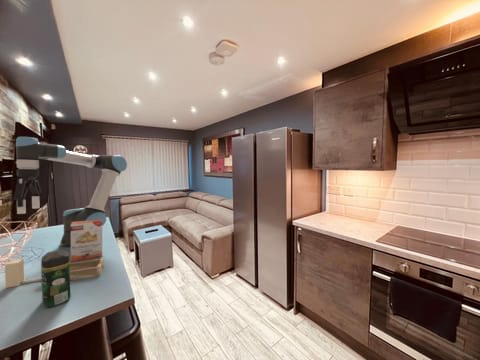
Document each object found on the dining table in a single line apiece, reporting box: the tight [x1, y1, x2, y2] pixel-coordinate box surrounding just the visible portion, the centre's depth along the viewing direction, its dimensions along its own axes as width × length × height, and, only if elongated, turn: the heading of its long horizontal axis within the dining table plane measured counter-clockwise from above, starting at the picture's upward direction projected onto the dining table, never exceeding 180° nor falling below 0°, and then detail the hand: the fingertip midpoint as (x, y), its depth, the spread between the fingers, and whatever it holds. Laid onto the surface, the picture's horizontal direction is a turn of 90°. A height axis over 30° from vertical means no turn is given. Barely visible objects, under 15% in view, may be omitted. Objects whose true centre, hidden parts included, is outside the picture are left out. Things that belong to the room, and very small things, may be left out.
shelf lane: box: [70, 258, 105, 281], centre depth 95 cm, size 10×15×4 cm
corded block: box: [4, 258, 42, 289], centre depth 88 cm, size 6×18×10 cm, turn 116°
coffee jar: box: [40, 249, 72, 308], centre depth 75 cm, size 10×8×19 cm
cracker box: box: [70, 219, 103, 263], centre depth 112 cm, size 14×6×21 cm, turn 124°
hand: (29, 210), depth 99 cm, fingers open, 13 cm apart
